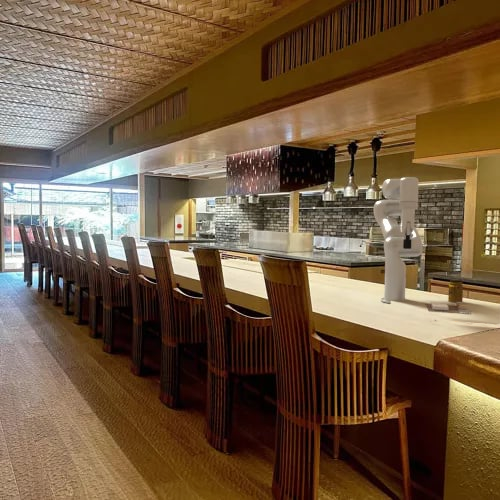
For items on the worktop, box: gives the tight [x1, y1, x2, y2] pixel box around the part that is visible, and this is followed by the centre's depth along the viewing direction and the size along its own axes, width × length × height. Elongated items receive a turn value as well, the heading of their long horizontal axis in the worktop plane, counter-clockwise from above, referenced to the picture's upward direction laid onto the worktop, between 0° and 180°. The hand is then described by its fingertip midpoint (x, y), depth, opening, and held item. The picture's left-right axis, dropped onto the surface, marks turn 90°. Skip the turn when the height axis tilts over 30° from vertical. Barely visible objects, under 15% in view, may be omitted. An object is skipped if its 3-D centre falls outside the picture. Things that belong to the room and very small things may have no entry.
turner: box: [455, 301, 472, 315], centre depth 185 cm, size 17×4×2 cm, turn 163°
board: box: [424, 303, 468, 315], centre depth 187 cm, size 18×16×2 cm
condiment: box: [447, 278, 464, 304], centre depth 204 cm, size 7×8×12 cm
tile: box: [430, 302, 448, 311], centre depth 186 cm, size 2×6×7 cm
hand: (407, 248), depth 188 cm, fingers closed
